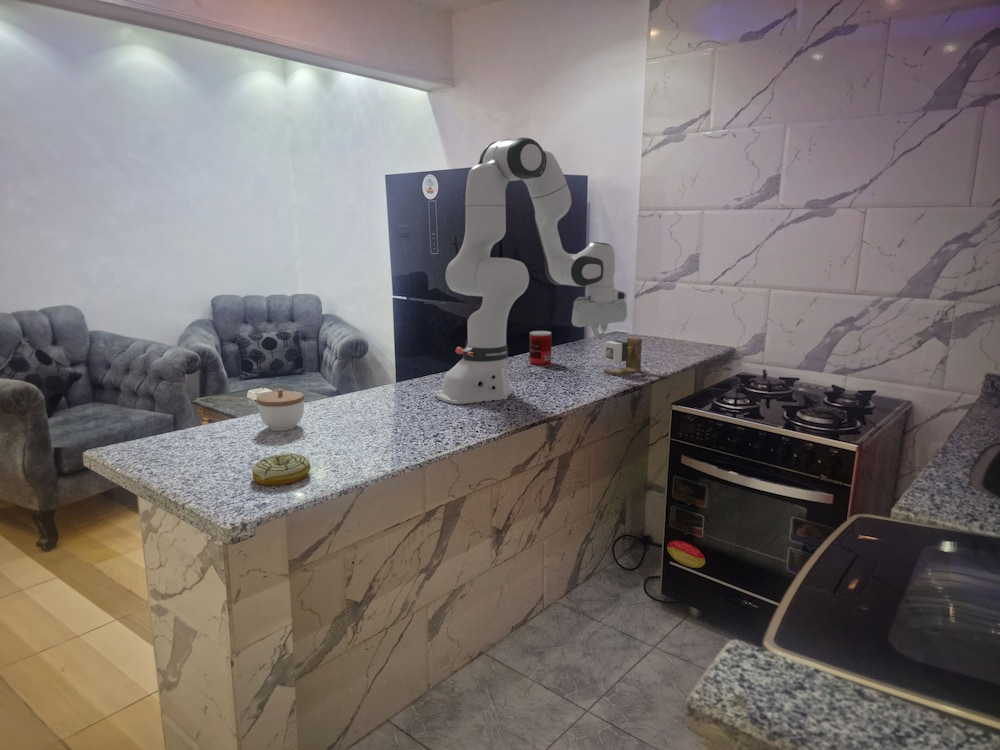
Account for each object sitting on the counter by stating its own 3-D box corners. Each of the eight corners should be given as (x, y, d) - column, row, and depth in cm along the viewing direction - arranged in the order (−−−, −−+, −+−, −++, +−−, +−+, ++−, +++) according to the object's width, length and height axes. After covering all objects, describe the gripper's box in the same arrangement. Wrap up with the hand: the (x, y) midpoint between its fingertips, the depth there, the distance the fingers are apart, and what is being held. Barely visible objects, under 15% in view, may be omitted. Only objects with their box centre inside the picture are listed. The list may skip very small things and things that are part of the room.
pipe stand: (613, 375, 214) (615, 342, 212) (603, 373, 218) (604, 340, 216) (641, 371, 220) (642, 338, 218) (630, 368, 224) (631, 336, 222)
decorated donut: (247, 475, 131) (245, 457, 130) (301, 464, 136) (300, 447, 135) (260, 492, 122) (258, 473, 121) (317, 480, 128) (316, 462, 127)
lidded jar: (315, 424, 163) (312, 387, 161) (281, 436, 154) (278, 397, 152) (284, 418, 168) (282, 382, 166) (250, 429, 159) (246, 391, 157)
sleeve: (614, 362, 213) (615, 344, 212) (603, 359, 217) (604, 341, 216) (621, 361, 215) (622, 343, 213) (610, 358, 219) (611, 341, 218)
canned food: (551, 361, 238) (551, 330, 235) (550, 365, 230) (551, 334, 227) (530, 360, 238) (530, 330, 236) (528, 365, 231) (529, 334, 228)
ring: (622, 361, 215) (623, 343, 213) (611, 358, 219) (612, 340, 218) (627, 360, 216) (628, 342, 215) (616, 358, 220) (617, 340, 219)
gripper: (580, 298, 200) (580, 343, 203) (630, 293, 210) (629, 336, 214) (567, 296, 205) (567, 340, 208) (617, 291, 216) (615, 333, 219)
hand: (599, 338), depth 211 cm, fingers closed
